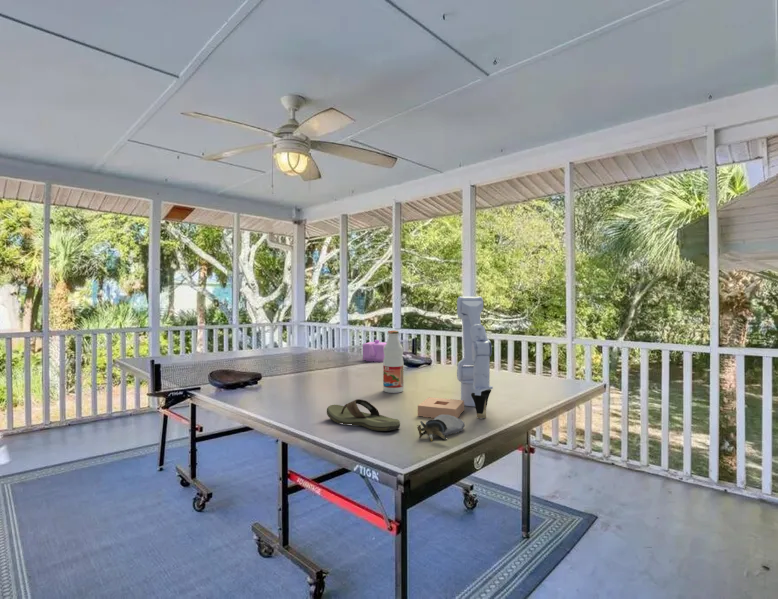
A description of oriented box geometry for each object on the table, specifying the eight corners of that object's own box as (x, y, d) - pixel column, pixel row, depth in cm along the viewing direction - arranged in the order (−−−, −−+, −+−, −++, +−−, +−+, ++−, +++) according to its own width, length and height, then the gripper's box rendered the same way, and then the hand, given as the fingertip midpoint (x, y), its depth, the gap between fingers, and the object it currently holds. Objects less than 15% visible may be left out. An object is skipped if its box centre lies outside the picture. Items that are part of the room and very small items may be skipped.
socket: (428, 407, 174) (428, 397, 174) (464, 410, 169) (464, 400, 169) (417, 416, 161) (417, 405, 161) (455, 420, 156) (455, 409, 156)
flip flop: (321, 421, 156) (321, 397, 156) (344, 413, 166) (344, 391, 166) (385, 437, 138) (385, 411, 138) (407, 428, 148) (407, 403, 148)
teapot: (358, 362, 290) (358, 341, 289) (373, 357, 313) (373, 337, 313) (379, 363, 284) (379, 342, 284) (393, 358, 307) (393, 338, 307)
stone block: (466, 434, 146) (441, 423, 152) (468, 421, 146) (443, 410, 152) (447, 445, 137) (421, 433, 143) (450, 431, 136) (423, 419, 142)
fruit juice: (407, 391, 203) (407, 331, 203) (392, 394, 197) (392, 332, 196) (393, 388, 210) (393, 329, 210) (379, 390, 204) (379, 330, 203)
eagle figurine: (419, 440, 131) (448, 435, 131) (415, 417, 135) (444, 412, 135) (421, 446, 137) (449, 441, 137) (417, 424, 141) (444, 419, 141)
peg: (477, 416, 161) (477, 397, 161) (486, 417, 160) (486, 398, 160) (476, 418, 158) (476, 399, 158) (485, 419, 157) (485, 399, 157)
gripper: (489, 378, 151) (489, 417, 151) (495, 371, 164) (495, 407, 164) (469, 376, 154) (468, 415, 154) (476, 370, 167) (476, 405, 167)
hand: (481, 411), depth 159 cm, fingers open, 6 cm apart
